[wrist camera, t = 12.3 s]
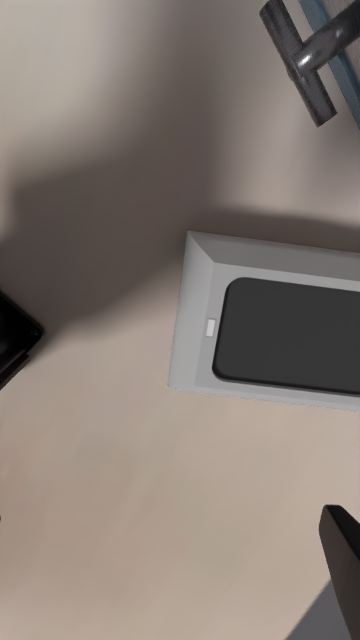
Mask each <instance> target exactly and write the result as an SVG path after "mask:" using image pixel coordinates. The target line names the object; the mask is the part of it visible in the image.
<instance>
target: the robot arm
mask: <svg viewBox="0 0 360 640" xmlns="http://www.w3.org/2000/svg"><path fill="white" fill-rule="evenodd" d="M33 330H36V331H37V332H38V335H36V334H34V332H33ZM44 333H45V331H44V328H43V327H42V326H41V325H40V324H39V323H37V322H36V321H35V320H34V319H33V318H32V317H30V316H29V315H28V314H27V313H26V312H25V311H23V310H22V309H21V308H20V307H19V306H18V305H16V304H15V303H14V302H13V301H12V300H10V299H9V298H8V297H7V296H6V295H5V294H3V293H2V292H1V291H0V390H1V389H2V388H3V387H4V386H5V385H6V384H7V383H8V382H9V381H10V380H11V379H12V378H13V377H14V376H15V375H16V374H17V373H18V372H19V371H20V370H21V369H22V368H23V367H24V366H25V365H26V364H27V363H28V362H29V361H30V356H29V355H28V354H27V352H28V351H29V350H30V349H31V348H32V347H33V346H34V345H35V344H36V343H37V342H38V341H39V340H40V339H41V338H42V337H43V336H44ZM0 519H1V518H0ZM319 535H320V539H321V542H322V546H323V550H324V553H325V557H326V561H327V564H328V568H329V572H330V575H331V579H332V583H333V586H334V590H335V594H336V597H337V600H338V603H339V606H340V609H341V612H342V615H343V617H344V620H345V623H346V626H347V628H348V631H349V634H350V637H351V639H352V640H360V523H359V522H358V521H356V520H355V519H354V518H353V517H352V516H351V515H350V514H349V513H348V512H347V511H346V510H345V509H344V508H343V507H341V506H340V505H325V506H324V507H323V510H322V514H321V519H320V523H319Z"/></svg>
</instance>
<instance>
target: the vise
mask: <svg viewBox="0 0 360 640" xmlns="http://www.w3.org/2000/svg"><path fill="white" fill-rule="evenodd" d="M299 2H300V4H301V6H302V8H303V10H304V13H305V15H306V17H307V19H308V21H309V23H310V25H311V27H312V29H313V32H314V34H313V35H312V36H310V37H309V38H308V39H307V40H306V41H304V42H302V40H301V38H300V36H299V34H298V31H297V29H296V27H295V25H294V23H293V21H292V19H291V17H290V15H289V13H288V11H287V9H286V7H285V5H284V3H283V1H282V0H269V1H268V2H267V3H266V4H265V6H264V7H263V8H262V10H261V11H260V13H259V15H260V17H261V19H262V21H263V23H264V25H265V27H266V29H267V31H268V33H269V35H270V37H271V39H272V41H273V43H274V45H275V46H276V48H277V50H278V52H279V54H280V56H281V58H282V60H283V62H284V64H285V66H286V70H287V73H288V75H289V77H290V79H291V80H292V81H293V82H294V84H295V86H296V88H297V89H298V91H299V93H300V95H301V97H302V99H303V101H304V103H305V105H306V107H307V109H308V111H309V113H310V115H311V117H312V119H313V121H314V123H315V125H316V127H319V126H321V125H322V124H324V123H325V122H326V121H328V120H329V119H331V118H332V117H333V116H334V115H336V114H337V112H336V110H335V107H334V105H333V103H332V101H331V99H330V97H329V95H328V93H327V91H326V89H325V87H324V85H323V83H322V81H321V79H320V77H319V75H318V73H317V70H318V69H320V68H321V67H322V66H324V65H325V64H326V63H327V62H328V63H329V65H330V67H331V69H332V72H333V74H334V76H335V78H336V80H337V82H338V84H339V86H340V88H341V91H342V93H343V95H344V97H345V99H346V101H347V103H348V105H349V107H350V110H351V112H352V114H353V116H354V118H355V120H356V122H357V124H358V126H359V129H360V0H299Z"/></svg>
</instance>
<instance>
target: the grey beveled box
mask: <svg viewBox="0 0 360 640" xmlns="http://www.w3.org/2000/svg"><path fill="white" fill-rule="evenodd" d="M168 387H169V388H171V389H176V390H180V391H185V392H191V393H200V394H208V395H217V396H226V397H234V398H243V399H251V400H260V401H269V402H277V403H286V404H294V405H303V406H312V407H320V408H329V409H338V410H346V411H355V412H360V253H357V252H350V251H342V250H334V249H327V248H319V247H312V246H304V245H297V244H289V243H282V242H274V241H266V240H259V239H251V238H244V237H236V236H229V235H221V234H213V233H206V232H198V231H191V230H187V238H186V246H185V253H184V261H183V269H182V277H181V284H180V292H179V300H178V307H177V315H176V323H175V330H174V338H173V346H172V353H171V361H170V369H169V378H168Z"/></svg>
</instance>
